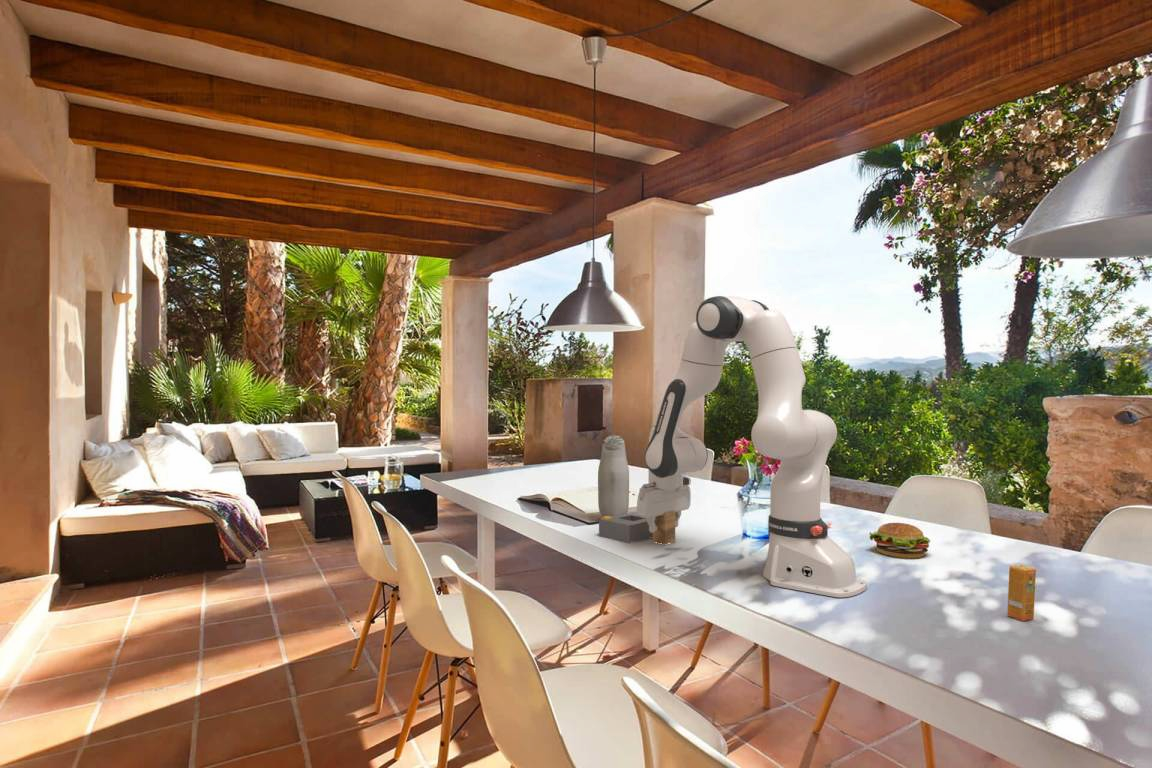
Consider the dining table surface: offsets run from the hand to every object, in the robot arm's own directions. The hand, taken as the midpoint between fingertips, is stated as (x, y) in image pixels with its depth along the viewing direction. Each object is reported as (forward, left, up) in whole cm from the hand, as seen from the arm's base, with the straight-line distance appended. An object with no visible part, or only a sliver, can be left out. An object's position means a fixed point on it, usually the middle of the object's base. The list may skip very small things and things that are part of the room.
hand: (664, 529), depth 186 cm
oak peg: (0, 0, -4) cm, 4 cm away
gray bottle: (+29, -10, -4) cm, 31 cm away
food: (-50, -37, -4) cm, 62 cm away
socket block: (+12, 0, -4) cm, 13 cm away
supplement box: (-85, -4, -4) cm, 85 cm away
